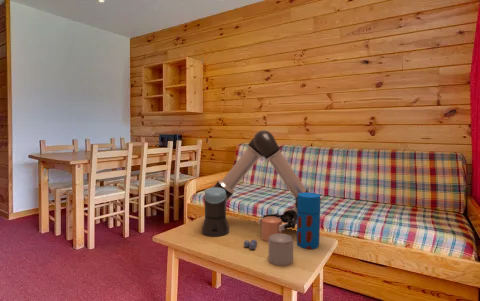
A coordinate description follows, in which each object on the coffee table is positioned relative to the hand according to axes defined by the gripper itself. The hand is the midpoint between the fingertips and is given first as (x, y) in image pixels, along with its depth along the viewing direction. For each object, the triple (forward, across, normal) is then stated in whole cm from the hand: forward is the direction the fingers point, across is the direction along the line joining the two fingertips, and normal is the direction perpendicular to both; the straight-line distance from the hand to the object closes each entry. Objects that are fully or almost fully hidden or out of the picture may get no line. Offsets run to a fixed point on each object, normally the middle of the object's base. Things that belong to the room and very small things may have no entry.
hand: (268, 225), depth 149 cm
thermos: (-8, -18, -8) cm, 21 cm away
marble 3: (+14, -2, -8) cm, 16 cm away
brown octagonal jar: (+14, -18, -8) cm, 24 cm away
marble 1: (+14, +2, -8) cm, 16 cm away
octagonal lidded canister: (-3, 0, -8) cm, 8 cm away
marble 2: (+12, 0, -8) cm, 14 cm away
